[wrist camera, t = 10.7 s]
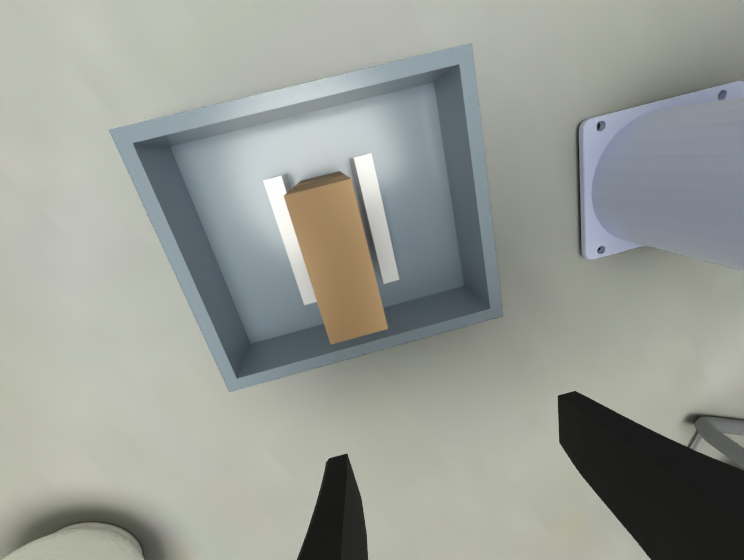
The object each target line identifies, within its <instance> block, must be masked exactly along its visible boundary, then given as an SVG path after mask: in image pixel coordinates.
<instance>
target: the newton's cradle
mask: <svg viewBox="0 0 744 560" xmlns="http://www.w3.org/2000/svg"><path fill="white" fill-rule="evenodd" d="M695 427H696V430H697V432H698V433H699V434H700V436H699V437H698V439H697V441H696V442H695V444H694V446H693V447H692V449H693V450H695V451H697V452H698V451H699V449H700V448H701V446H702V445H703V443H704V441H705V440H706V441H707V442H708V443H709V444H711V445H712V446H713V447H715V448H716V449H717V450H719V451H720V452H721V453H723V454H724V455H726V456H727V457H728V458H730V459H731V460H732V461H734V462H735V463H736V464H738V465H739V466H741V467H742V468H743V469H744V448H743V447H741V446H740V445H738V444H737V443H735V442H734V441H732V440H731V439H730V438H728V437H727V436H725V435H724V434H722V433H727V434H737V435H744V420H735V419H726V418H718V417H700V418H698V419H697V420H696V421H695Z"/></svg>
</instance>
